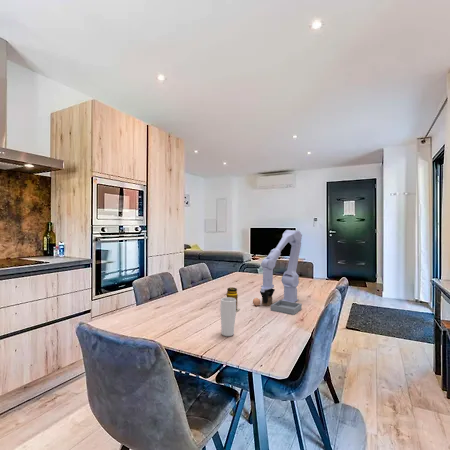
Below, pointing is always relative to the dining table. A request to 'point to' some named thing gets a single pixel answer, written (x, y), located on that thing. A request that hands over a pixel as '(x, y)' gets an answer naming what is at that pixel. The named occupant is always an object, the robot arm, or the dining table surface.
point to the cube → (268, 301)
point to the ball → (256, 301)
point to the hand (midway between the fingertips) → (267, 302)
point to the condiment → (232, 294)
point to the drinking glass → (228, 315)
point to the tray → (286, 307)
